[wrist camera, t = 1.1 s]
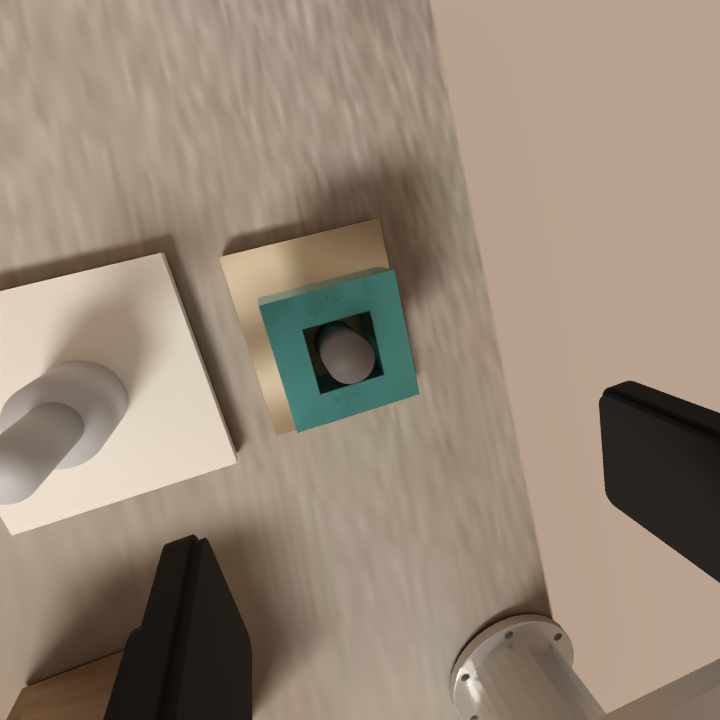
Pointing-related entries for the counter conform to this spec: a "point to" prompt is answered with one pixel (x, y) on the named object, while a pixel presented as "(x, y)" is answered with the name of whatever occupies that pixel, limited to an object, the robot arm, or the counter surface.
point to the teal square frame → (381, 330)
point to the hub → (101, 393)
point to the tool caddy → (70, 693)
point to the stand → (296, 269)
